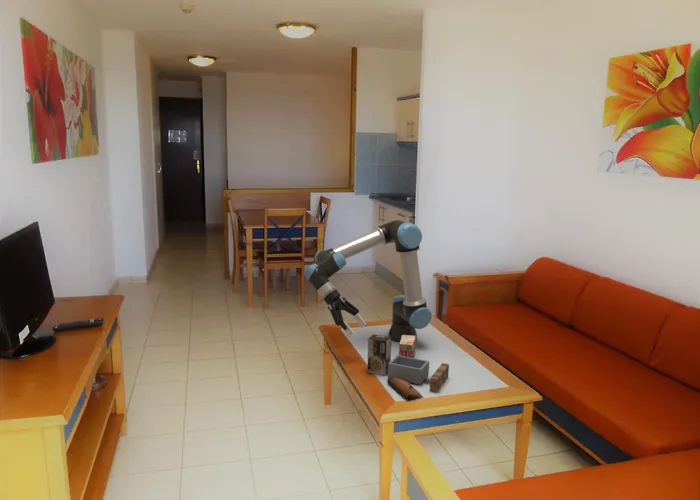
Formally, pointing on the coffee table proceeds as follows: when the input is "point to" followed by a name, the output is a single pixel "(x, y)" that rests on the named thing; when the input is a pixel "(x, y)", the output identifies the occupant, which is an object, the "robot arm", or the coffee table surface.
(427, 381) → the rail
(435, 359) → the coffee table surface
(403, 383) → the sunglasses case
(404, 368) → the box
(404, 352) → the stack of blocks
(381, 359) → the coffee box
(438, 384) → the walnut backstop
